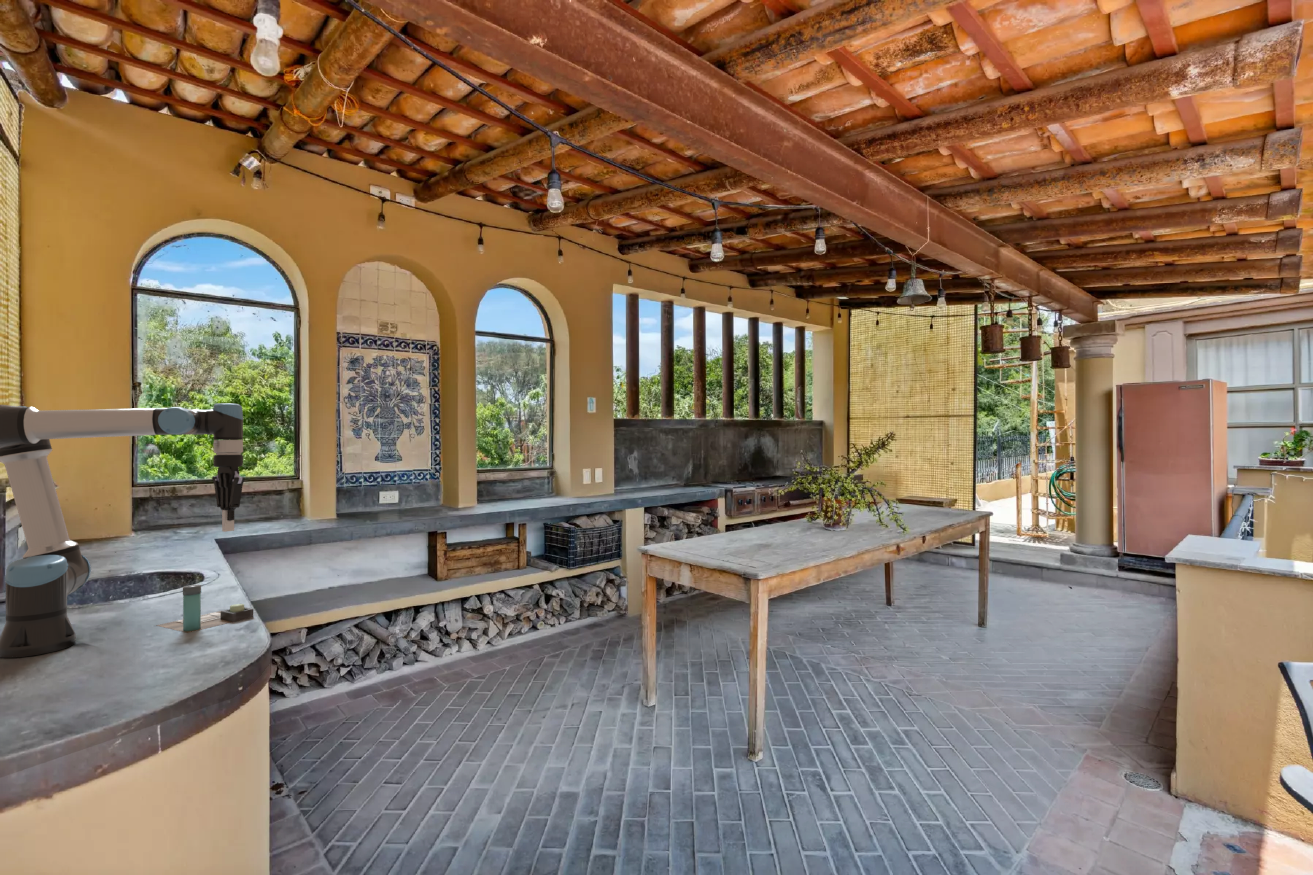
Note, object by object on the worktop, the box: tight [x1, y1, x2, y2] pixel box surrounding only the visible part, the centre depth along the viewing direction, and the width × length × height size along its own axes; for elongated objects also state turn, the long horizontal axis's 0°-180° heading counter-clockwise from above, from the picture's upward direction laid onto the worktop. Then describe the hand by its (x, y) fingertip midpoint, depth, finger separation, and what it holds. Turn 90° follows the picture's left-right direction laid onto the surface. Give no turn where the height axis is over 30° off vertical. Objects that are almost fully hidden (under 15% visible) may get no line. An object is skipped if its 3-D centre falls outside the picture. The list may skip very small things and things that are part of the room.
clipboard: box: [155, 606, 254, 634], centre depth 191 cm, size 16×18×4 cm
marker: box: [182, 584, 202, 632], centre depth 182 cm, size 4×4×12 cm
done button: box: [229, 603, 245, 613], centre depth 194 cm, size 4×4×3 cm
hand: (228, 530), depth 199 cm, fingers closed
